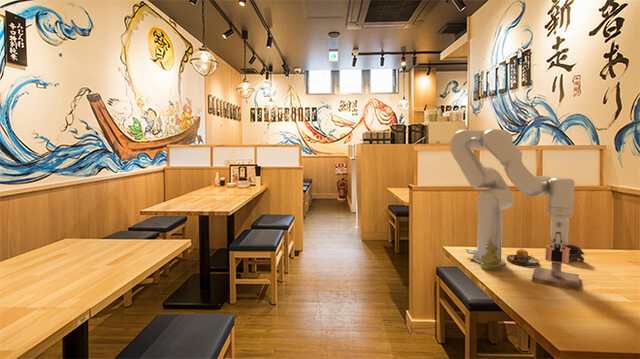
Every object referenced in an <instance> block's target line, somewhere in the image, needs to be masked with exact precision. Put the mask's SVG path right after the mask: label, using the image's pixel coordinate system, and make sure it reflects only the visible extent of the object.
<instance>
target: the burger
mask: <svg viewBox="0 0 640 359" xmlns="http://www.w3.org/2000/svg"><path fill="white" fill-rule="evenodd" d="M515 253H516V254H509V255H507V256H506V261H507V262H510V263H511V264H513V265H516V266H520V265H522V266H521V267H527V266H535V267H537V266H539V265H540V263H539V262H540V261H539V259H537V258H535V256H533V254H531V255H529V252H528V251H527V250H526V249H523V248H519V249H517V250H516V252H515ZM536 265H537V266H536Z"/></svg>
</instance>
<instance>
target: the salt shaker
mask: <svg viewBox="0 0 640 359" xmlns="http://www.w3.org/2000/svg"><path fill="white" fill-rule="evenodd" d="M485 248H486V249H487V251H488V252H487V253H485V254H484V255H482V256H481V260H482V261H481V263H480V268H481V269H482V270H486V271H488V272H498V271H500V270H501V266H502V265H501V264H500V263H501V258H502V257H501V258H500V257H498V256H497V255H496V254H495V251H497V250H498V249H499V248H498V247H497V246H495V245H494V244H489V245H486V246H485Z"/></svg>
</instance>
